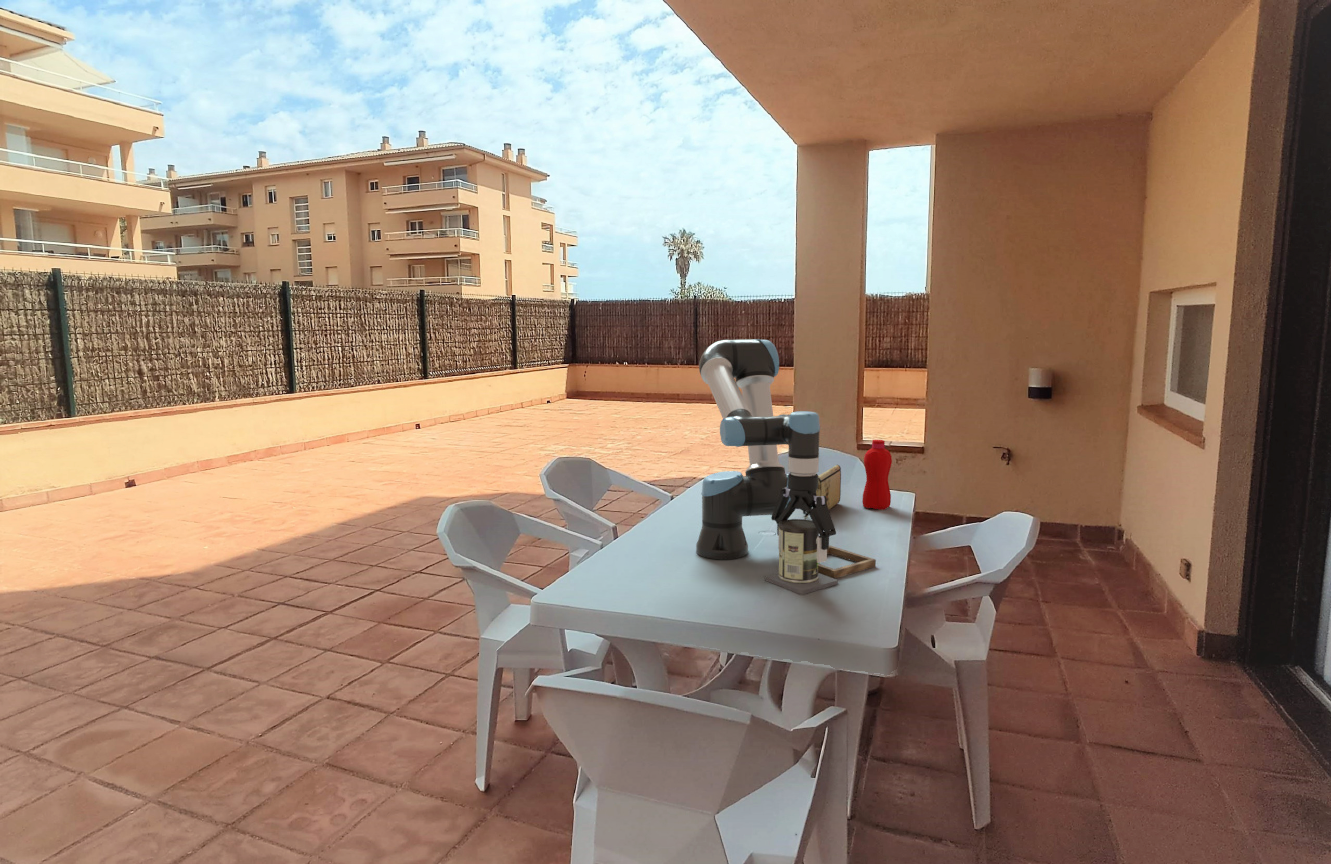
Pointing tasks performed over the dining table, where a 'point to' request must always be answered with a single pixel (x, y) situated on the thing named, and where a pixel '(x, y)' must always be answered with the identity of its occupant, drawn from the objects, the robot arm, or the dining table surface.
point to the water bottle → (877, 476)
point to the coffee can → (798, 551)
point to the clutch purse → (830, 486)
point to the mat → (803, 587)
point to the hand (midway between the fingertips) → (801, 554)
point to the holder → (842, 571)
